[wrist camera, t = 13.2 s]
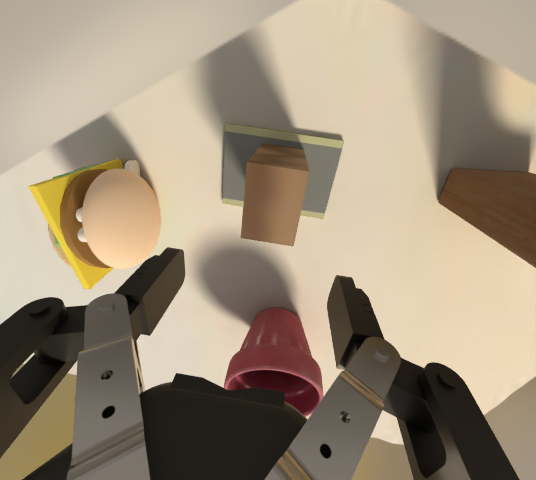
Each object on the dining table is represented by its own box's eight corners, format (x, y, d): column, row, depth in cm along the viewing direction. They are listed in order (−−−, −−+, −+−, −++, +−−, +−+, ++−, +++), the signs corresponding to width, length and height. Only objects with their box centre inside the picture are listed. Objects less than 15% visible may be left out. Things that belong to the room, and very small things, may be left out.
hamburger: (178, 238, 37) (133, 290, 26) (128, 237, 38) (65, 288, 27) (158, 158, 31) (91, 185, 21) (99, 159, 32) (5, 186, 21)
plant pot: (254, 352, 49) (243, 424, 38) (228, 304, 43) (206, 373, 32) (323, 343, 46) (332, 419, 35) (305, 290, 40) (310, 361, 29)
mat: (343, 140, 28) (344, 141, 27) (322, 217, 33) (323, 218, 32) (226, 123, 28) (225, 123, 28) (223, 201, 33) (222, 203, 33)
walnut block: (303, 149, 28) (309, 171, 19) (293, 203, 32) (293, 246, 22) (262, 142, 28) (247, 162, 19) (256, 198, 32) (240, 237, 22)
